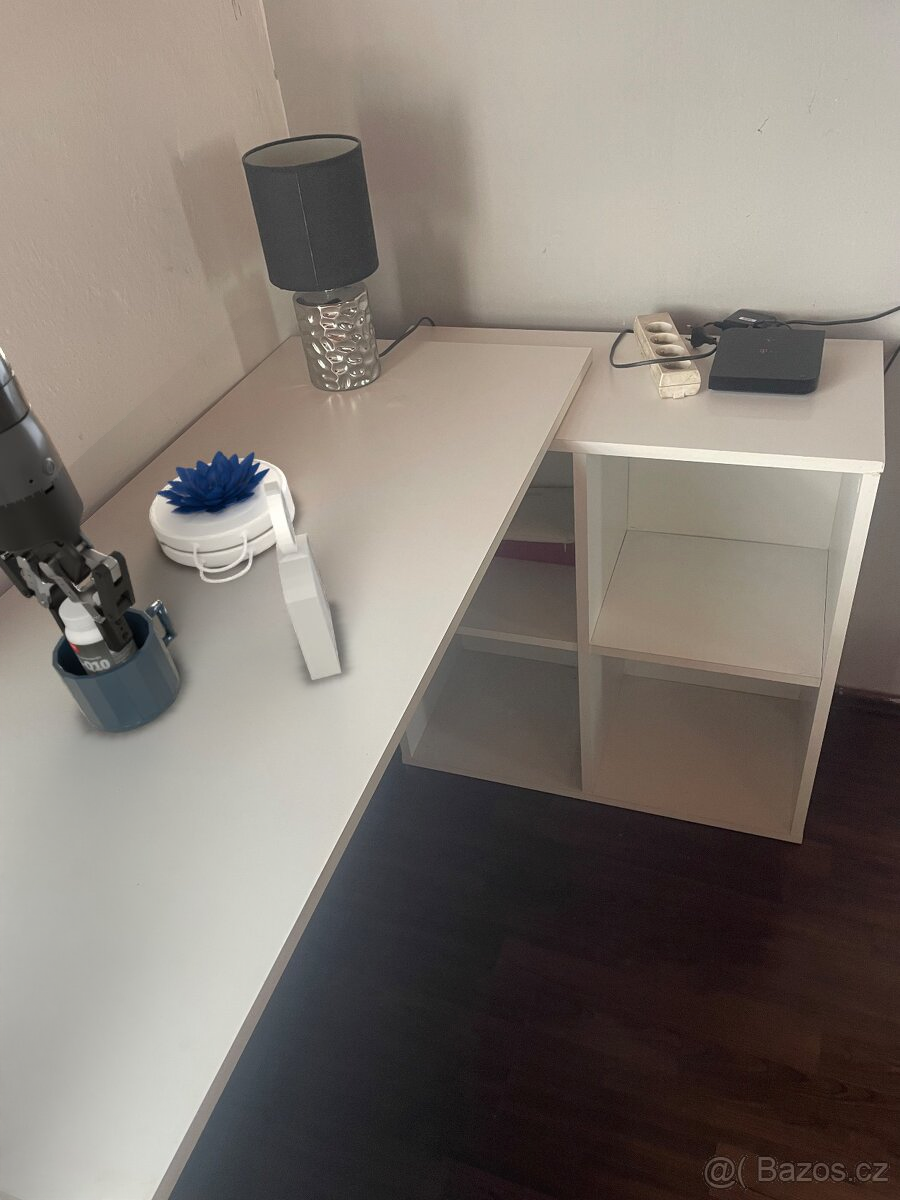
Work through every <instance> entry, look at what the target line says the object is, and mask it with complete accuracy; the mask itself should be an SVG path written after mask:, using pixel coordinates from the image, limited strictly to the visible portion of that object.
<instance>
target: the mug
mask: <svg viewBox="0 0 900 1200" xmlns="http://www.w3.org/2000/svg"><path fill="white" fill-rule="evenodd" d="M123 616H124V618H125V620H126V622H127V624H128V626H129V629H130V630H131V632H132V634H133V640H134V642H135V644H136V646H137V648H138V650H139V651H138V652H137V653H136V654H135V655H134V656H133V657H132V658H131V659H129V660H128V661H126V662H124V663H123V664H121V665H119V666H118V667H116V668H115V669H112V670H109V671H105V672H102V673H99V674H96V675H88V674H87V672H86V670H85V669H84V667H83V665H82V664H81V662H80V660H79V658H78V657H77V655H76V653H75V651H74V650H73V648H72V646H71V645H70V643H69V641H68V639H67V637H65V636H64V635H63V634H62V635H61V636H60V638H59V639H58V640H57V643H56V644H55V646H54V648H53V650H52V657H51V658H52V660H51V661H52V662H51V663H52V664H51V665H52V667H53V669H54V670H55V672H56V674H57V676H58V677H59V678H60V680H61V682H62V683H63V685H64V687H65V688H66V690H67V691H68V693H69V694H70V696H71V698H72V699H73V701H74V702H75V704H76V706H77V708H78V709H79V710H80V712H81V714H82V715H83V717H84V718H85V719H86V721H87V722H88V723H89V724H90V725H91V726H92V727H93V728H95V729H97V730H99V731H102V732H107V733H122V732H128V731H132V730H135V729H138V728H141V727H143V726H145V725H147V724H149V723H151V722H153V721H154V720H156V719H157V718H159V717H160V716H161V715H162V714H164V713H165V712H166V711H167V710H168V709H169V708H170V706H172V704H173V703H174V701H175V699H176V698H177V697H178V694H179V691H180V688H181V678H180V675H179V672H178V668H177V666H176V664H175V662H174V660H173V658H172V656H171V654H170V651H169V650H168V647H169V646H170V645H171V644H172V643H173V642H174V641H175V640H176V639H177V637H178V632H177V630H176V628H175V626H174V623H173V622H172V619H171V617H170V615H169V612H168V610H167V609H166V606H165V604H164V603H163V601H162V600H160V599H155V600H154V601H153V602H151V604H149V605H148V606H147V607H146V608H145V609H144V610H141V609H137V608H132V607H130V608H129V609H128V610H127V611H126V612H125V613H124V614H123ZM154 617H157V620H158V621H159V623H160V626H161V628H162V630H163V632H164V634H163V636H162V635H161V634H160V632H159V629H158V627H157V626H156V624H155V621H154V620H153V619H154Z"/></svg>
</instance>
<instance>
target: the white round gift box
mask: <svg viewBox="0 0 900 1200" xmlns="http://www.w3.org/2000/svg"><path fill="white" fill-rule="evenodd" d="M175 471H176V474H177V476H178V477H176V478H174V479H173V480H168V481H167V484H166V485H165V486H164V487H163V488H162V489H161V490H159V491H156V492H155V494H156V496H155V498H154V499H153V501H152V502H151V505H150V509H149V511H148V512H149V513H148V517H149V522H150V524H151V526H152V529H153V531H154V534H155V535H156V538H157V540H156V542H157V543H158V544H159V545H160V546H161V549H162V551H163V552H164V554H165V555H166V557H168V558H169V559H170V560H171V561H173V562H175V563H178V564H180V565H183V566H187V567H192V568H197V569H198V570H199V576H200V578H201V580H202V581H204V582H205V583H209V584H222V583H227V582H231V581H233V580H235V579H236V580H237V579H238V578H240V577H242V576H243V575H245V574H246V573H248V571H249V570H250V569H251V567H252V564H253V557H255V556H257V555H259V554H261V553H264V552H265V551H266V550H268V549H269V548H271V547H272V546H274V545H276V541H277V538H276V535H275V532H274V528H273V524H272V521H271V517H270V513H269V508H268V504H267V499H266V494H265V489H264V484H266V483H270V482H274V481H277V483H278V484H280V485H281V487H282V490H283V492H284V495H285V498H286V502H287V505H288V509H289V512H290V516H291V520H292V523H293V521H294V519H295V515H296V508H295V504H294V499H293V497H292V494H291V491H290V487H289V484H288V480H287V478H286V475H285V474H284V472H283V471H282V470H281V469H280V468H279V467H277V466H276V465H274V464H272V463H270V462H268V461H265V460H261V459H257V458H255V452H253V451H252V452H250V453H249V454H247V456H245V458H244V457H242V458H241V457H240V458H239V456H238V454H237V453H234V454H232V455H231V456H230V457H229V458H228V457H227V456H226V455H224V453H223V452H222V451H220V450H218V451H217V452H216V453H215V454H214V456H213V458H212V460H211V462H209V463H206V462H204V461H202V460H197V461H196V464H195V468H192V467H188V468H186V467H181V466H176V467H175ZM247 560H248V564H247V565H246V567H245V568H244V569H242V570H241V571H240V572H237V573H236V574H234V575H231V576H229V577H225V578H220V579H212V578H208V577H206V576H205V575H204V573H210V574H212V573H213V574H215V573H216V574H217V573H222V572H226V571H228V570H231V569H232V568H234V567H235V566H238V565H239V564H240V563H241V562H243V561H247ZM219 567H220V568H219Z"/></svg>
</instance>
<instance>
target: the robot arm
mask: <svg viewBox="0 0 900 1200" xmlns="http://www.w3.org/2000/svg"><path fill="white" fill-rule="evenodd" d="M34 410H35V409H34V408H33V407H32V404H31V403H30V401H29V398H28V397H27V395H26V393H25V391H24V389H23V387H22V385H21V383H20V380H19V379H18V377H17V376H16V373H15V371H14V370H13V367H12V366H11V364H10V361H9V359H8V358H7V356H6V353H5V352H4V350H3V348H2V347H1V346H0V569H1V570H2V571H3V572H4V574H5V575H6V576H7V577H8V579H9V580H10V581H11V582H12V584H13V586H14V587H16V589H17V591H19V593H20V594H21V596H23V597H24V598H26V599H31V598H33V597H36V600H37V602H38V604H39V605H40V606H41V607H43V608H45V609H48V611H49V613H50V614H51V616H52V617H53V619H54V621H55V622H56V624H57V626H58V628H59V630H60V631H61V633H62V636H63V635H64V636H65V637H66V634H65V627H66V626H65V624H64V622H63V621H62V619H61V617H60V615H59V608H60V606H61V604H62V603H63V602H64V601H65V600H66V599H67V598H69V599H70V600H71V601H72V602H73V603H81V604H82V606H83V607H84V608H85V609H86V610H87V612H88V613H89V614H90V615H91V617H92V618H93V619H94V620H95V621H94V623H95V625H96V626H97V628H98V630H99V632H100V634H101V635H102V637H103V639H104V641H105V643H106V645H107V646H108V648H109V650H111V651H114V652H117V653H118V652H120V651H121V650H122V649H123V648H124V647H126V646H127V645H128V644H129V643H130V642H131V640H132V638H133V634H132V632H131V630H130V629H129V626H128V624H127V622H126V620H125V618H124V616H123V614H124V613H125V612H126V611H127V610H128V609H129V608H132V607H133V606H134V605H135V604H137V600H136V597H135V593H134V588H133V584H132V580H131V576H130V572H129V567H128V564H127V558H126V557H125V556H124V554H122V552H120V551H119V550H113V551H112V552H111V553H109V554H108V555H106V554H104V553H101V552H99V551H97V550H96V549H95V546H94V544H93V542H92V541H91V540H90V539H89V538H88V537H87V536H86V534H85V533H84V531H83V530H82V529H81V523H82V516H83V513H84V508H85V507H84V502H83V500H82V498H81V495H80V493H79V492H78V489H77V487H76V486H75V485H76V484H75V483H74V482H73V479H72V478H71V475H70V474H69V472H68V469H67V467H66V465H65V464H64V461H63V459H62V457H61V456H60V454H59V451H58V449H57V448H56V445H55V443H54V441H53V439H52V437H51V435H50V433H49V432H48V429H47V428H46V426H45V425H44V423H43V422H42V420H41V419H40V417H39V416H38V415H37V413H36V412H35V411H34ZM21 572H22V573H23V575H24V576H23V575H22V573H21ZM90 575H91V576H90ZM89 576H90V577H89ZM88 577H89V580H88V581H87V582H86V583H85V584H83V586H82V587H80V588H78V587H77V586H79V585H80V584H82V582H84V581H85V580H86V579H87V578H88ZM96 592H98V596H99V599H100V602H101V604H100V605H99V606H98V605H97V604H96V602H95V601H94V600H93V595H94V594H95V593H96Z"/></svg>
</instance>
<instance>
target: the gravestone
mask: <svg viewBox="0 0 900 1200" xmlns="http://www.w3.org/2000/svg"><path fill="white" fill-rule="evenodd" d="M264 489H265V494H266V499H267V504H268V508H269V513H270V517H271V521H272V524H273V528H274V532H275V535H276V538H277V541H276V543H275V550H276V559H277V567H278V572H279V579H280V583H281V589H282V595H283V598H284V603H285V606H286V610H287V611H288V615H289V618H290V621H291V623H292V626H293V629H294V631H295V635H296V638H297V641H298V643H299V647H300V649H301V650H300V651H301V652H302V655H303V658H304V661H305V665H306V667H307V670H308V672H309V676H310V678H311V681H316V680H318V679H319V680H320V679H324V678H327V677H331V676H335V675H340V674H342V668H341V662H340V657H339V652H338V646H337V641H336V640H337V639H336V636H335V629H334V624H333V617H332V613H331V608H330V605H329V601H328V598H327V594H326V592H325V589H324V584H323V581H322V577H321V575H320V571H319V569H318V565H317V562H316V558H315V554H314V551H313V549H312V546H311V545H312V544H311V542H310V541H311V540H310V538H309V535H308V533H307V532H305V533H301V534H296V533H295V529H294V525H293V524H294V523H293V522H292V520H291V516H290V512H289V509H288V505H287V502H286V498H285V495H284V492H283V490H282V487H281V485H280V484H278V483H277V481H274V482H270V483H266V484H264Z"/></svg>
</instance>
